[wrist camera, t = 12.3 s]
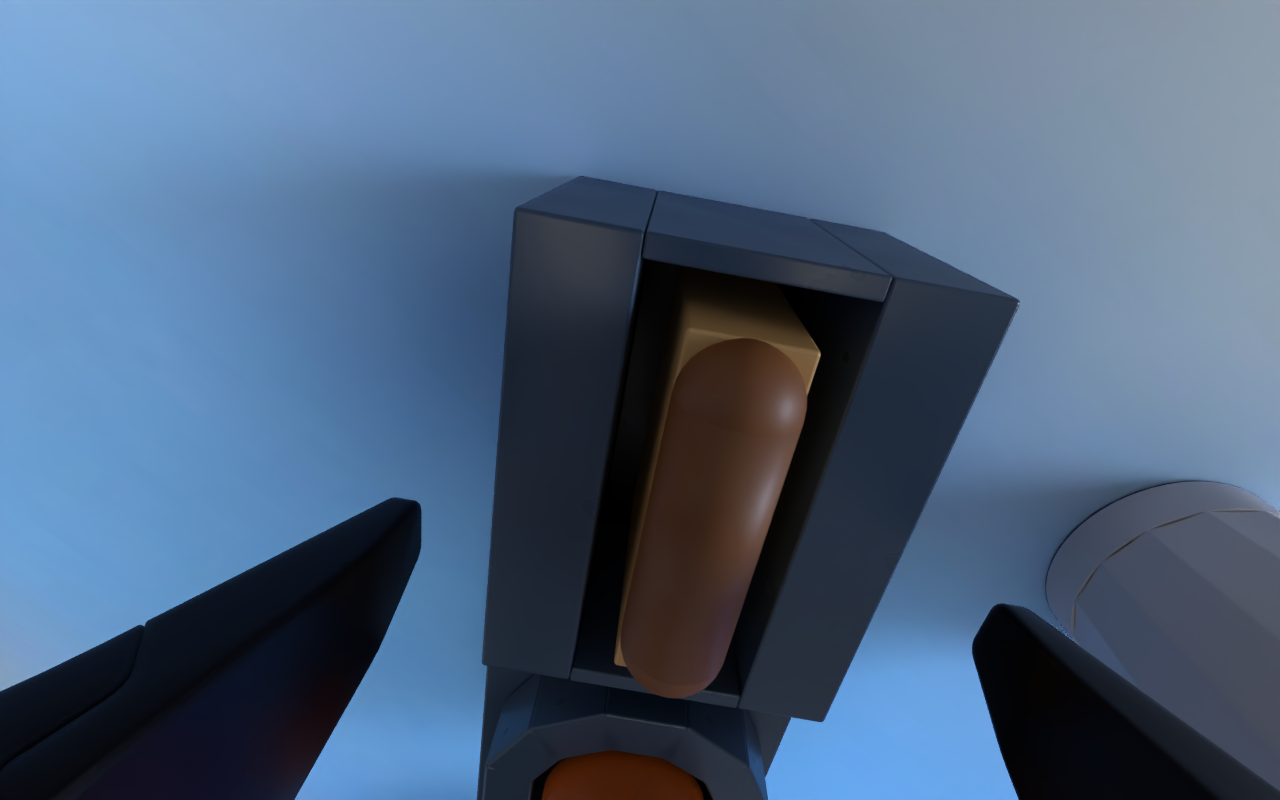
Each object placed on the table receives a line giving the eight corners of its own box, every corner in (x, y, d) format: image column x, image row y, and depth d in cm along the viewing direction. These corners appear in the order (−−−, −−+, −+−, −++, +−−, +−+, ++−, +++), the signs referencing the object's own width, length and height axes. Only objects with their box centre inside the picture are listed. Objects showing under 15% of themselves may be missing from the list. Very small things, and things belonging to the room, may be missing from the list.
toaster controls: (724, 721, 21) (740, 923, 16) (511, 686, 21) (454, 877, 16) (787, 545, 18) (835, 729, 12) (531, 501, 18) (466, 667, 12)
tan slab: (702, 513, 16) (717, 731, 10) (632, 500, 16) (607, 713, 10) (768, 268, 13) (842, 379, 7) (682, 252, 13) (686, 351, 7)
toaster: (778, 541, 18) (823, 723, 12) (541, 500, 18) (481, 666, 12) (885, 232, 14) (1023, 300, 8) (579, 175, 14) (512, 206, 8)
